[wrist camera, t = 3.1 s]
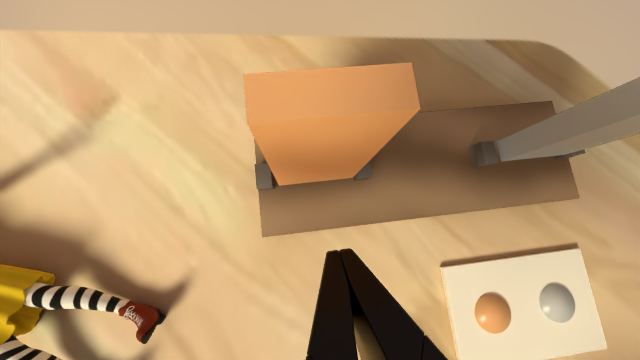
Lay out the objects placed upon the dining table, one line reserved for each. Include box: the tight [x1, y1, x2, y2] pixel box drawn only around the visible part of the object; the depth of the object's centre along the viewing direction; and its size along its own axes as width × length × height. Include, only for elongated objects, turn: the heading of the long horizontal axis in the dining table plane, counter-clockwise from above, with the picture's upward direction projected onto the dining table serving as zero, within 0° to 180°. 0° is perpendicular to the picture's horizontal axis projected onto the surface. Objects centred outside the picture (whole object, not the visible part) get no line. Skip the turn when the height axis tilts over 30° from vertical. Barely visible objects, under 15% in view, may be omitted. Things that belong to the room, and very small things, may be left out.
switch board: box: [254, 101, 585, 237], centre depth 20 cm, size 8×24×2 cm, turn 97°
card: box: [440, 248, 608, 360], centre depth 20 cm, size 7×11×1 cm, turn 97°
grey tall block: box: [496, 77, 640, 162], centre depth 14 cm, size 2×5×11 cm, turn 97°
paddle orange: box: [243, 62, 421, 186], centre depth 13 cm, size 2×5×11 cm, turn 97°
